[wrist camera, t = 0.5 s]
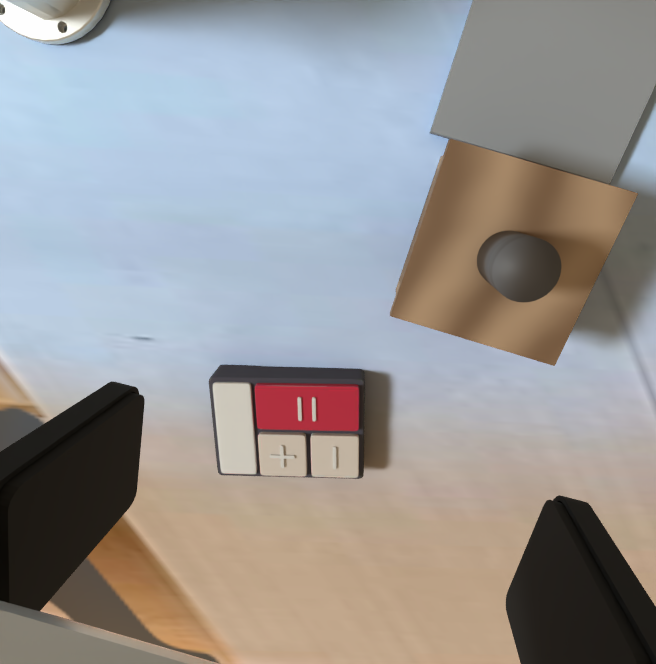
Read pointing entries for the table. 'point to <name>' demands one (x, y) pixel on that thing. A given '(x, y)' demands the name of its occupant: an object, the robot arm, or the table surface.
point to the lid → (508, 251)
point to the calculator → (288, 421)
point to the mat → (552, 81)
